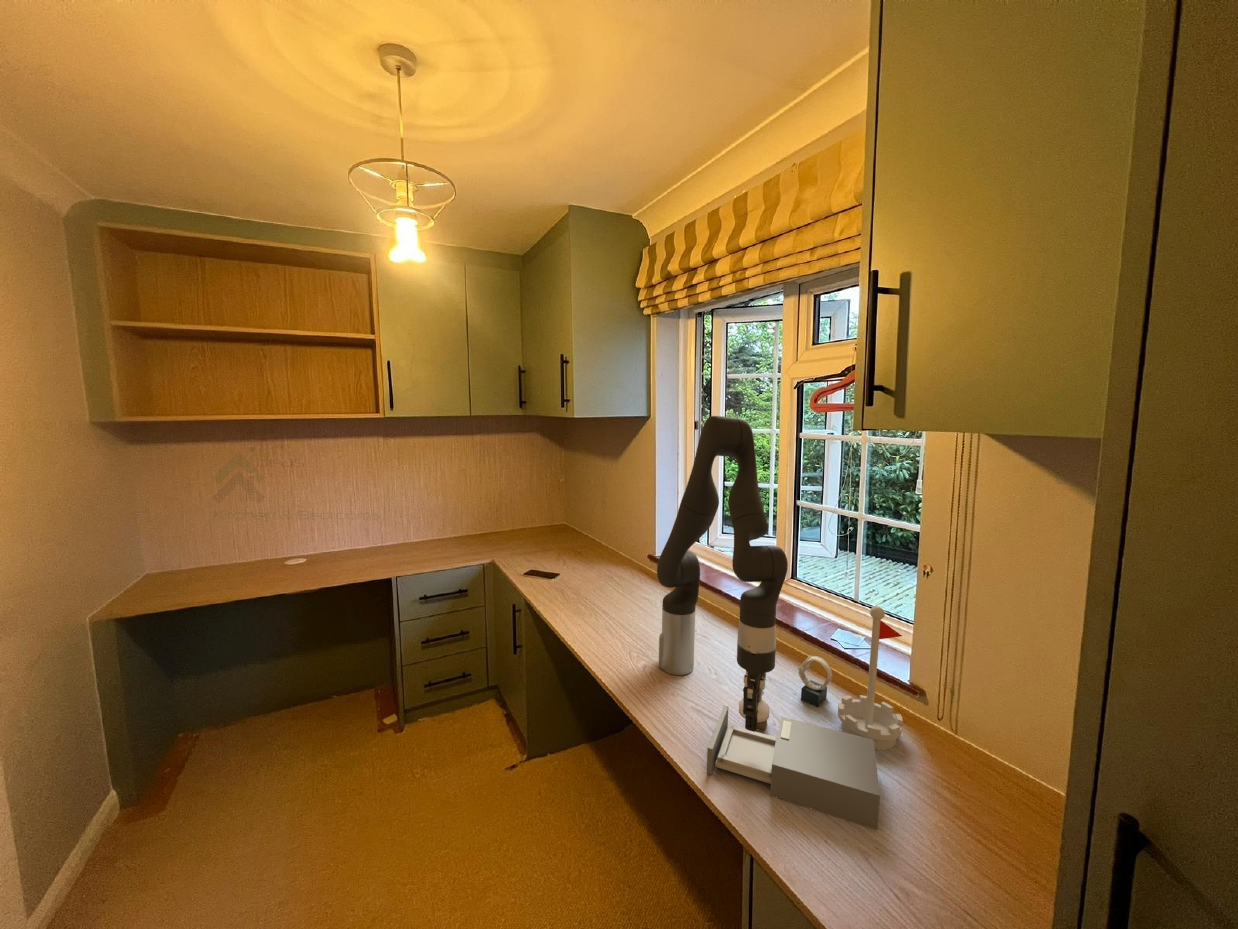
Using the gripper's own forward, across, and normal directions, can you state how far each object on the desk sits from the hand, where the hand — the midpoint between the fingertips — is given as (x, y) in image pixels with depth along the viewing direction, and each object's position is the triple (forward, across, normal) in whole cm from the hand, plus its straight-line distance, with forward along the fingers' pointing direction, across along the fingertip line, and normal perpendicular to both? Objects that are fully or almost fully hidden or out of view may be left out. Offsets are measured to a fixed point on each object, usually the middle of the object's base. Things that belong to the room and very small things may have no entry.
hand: (753, 720), depth 101 cm
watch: (+9, -30, +11) cm, 33 cm away
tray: (+9, 0, +1) cm, 9 cm away
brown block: (+9, -13, 0) cm, 15 cm away
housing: (+9, 0, +14) cm, 16 cm away
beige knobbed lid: (-2, 0, 0) cm, 2 cm away
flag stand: (+9, -20, +23) cm, 32 cm away
